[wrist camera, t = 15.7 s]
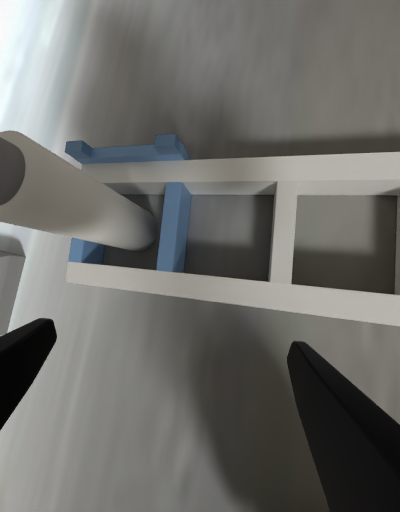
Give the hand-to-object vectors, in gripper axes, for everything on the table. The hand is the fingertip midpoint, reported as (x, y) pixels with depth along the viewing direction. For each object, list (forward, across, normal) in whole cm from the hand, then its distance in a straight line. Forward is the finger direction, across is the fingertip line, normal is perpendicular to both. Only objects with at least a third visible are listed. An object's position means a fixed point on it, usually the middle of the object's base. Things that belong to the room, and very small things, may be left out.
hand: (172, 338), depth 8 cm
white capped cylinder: (+16, +6, +1) cm, 17 cm away
